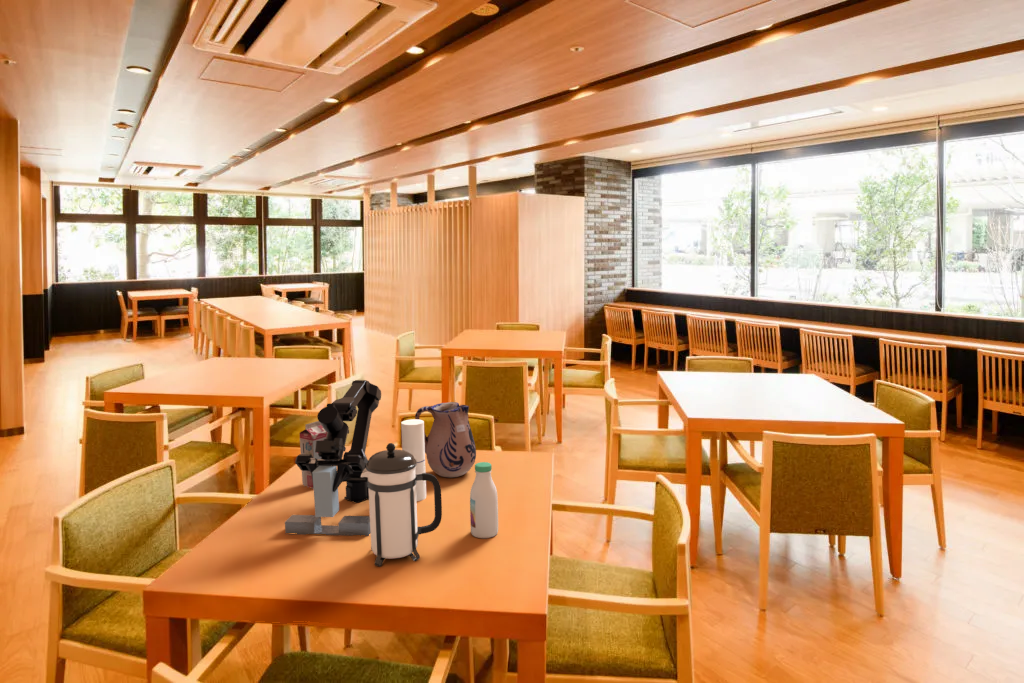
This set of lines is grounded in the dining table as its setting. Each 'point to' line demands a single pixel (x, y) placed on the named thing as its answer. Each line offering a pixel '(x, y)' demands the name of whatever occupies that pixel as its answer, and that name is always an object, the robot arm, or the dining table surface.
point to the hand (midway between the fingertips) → (324, 491)
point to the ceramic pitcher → (449, 440)
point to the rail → (313, 525)
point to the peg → (325, 491)
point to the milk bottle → (483, 503)
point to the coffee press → (396, 504)
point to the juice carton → (311, 446)
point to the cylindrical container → (415, 450)
